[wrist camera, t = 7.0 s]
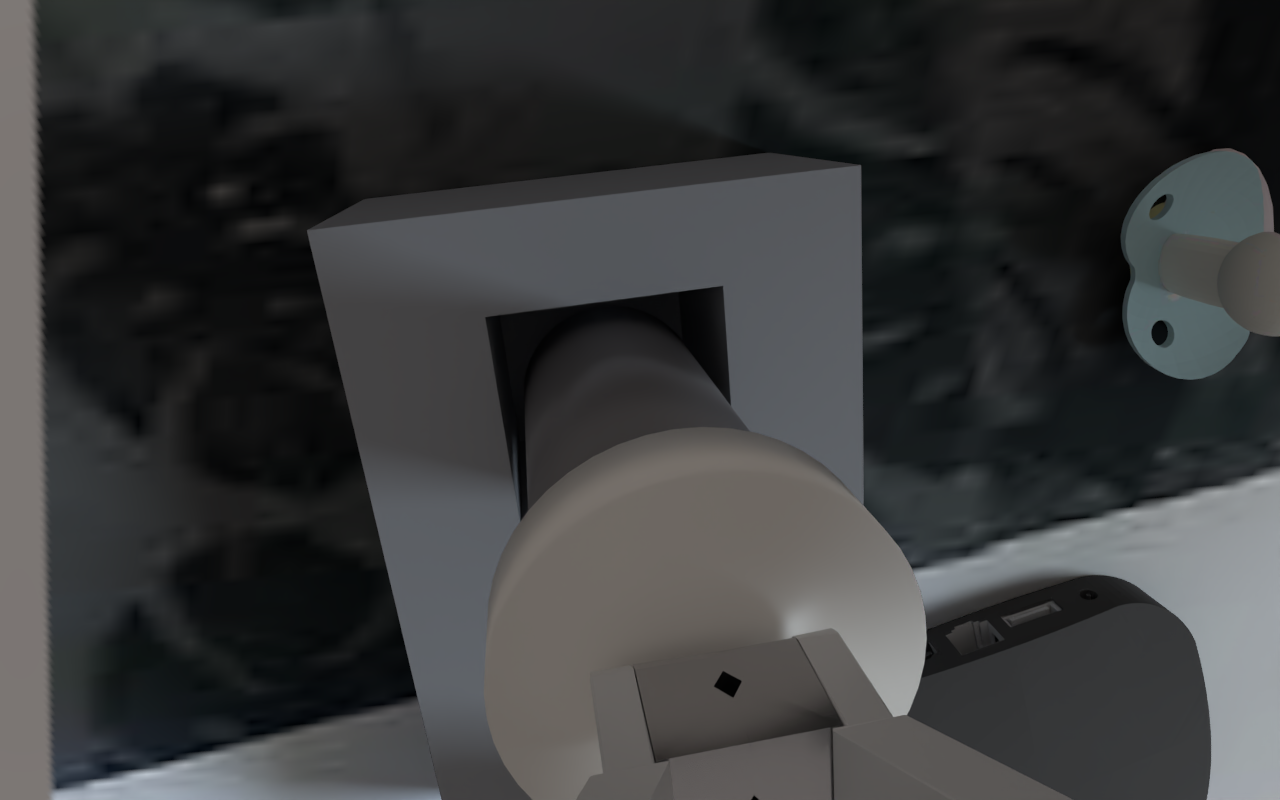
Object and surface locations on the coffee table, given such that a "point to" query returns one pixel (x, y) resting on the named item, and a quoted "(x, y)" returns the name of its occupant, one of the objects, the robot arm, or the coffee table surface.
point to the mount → (513, 328)
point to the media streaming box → (1075, 692)
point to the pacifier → (1201, 264)
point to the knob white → (667, 545)
